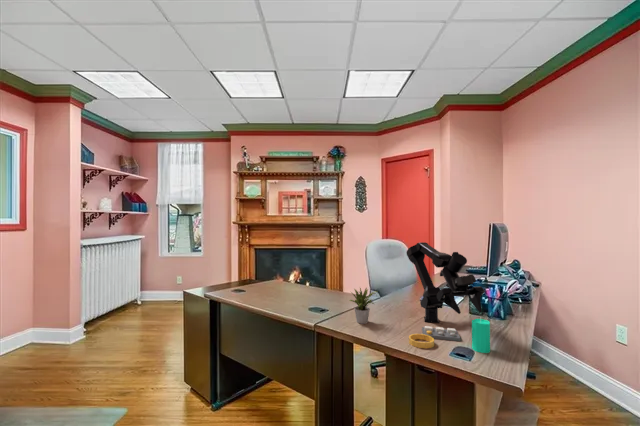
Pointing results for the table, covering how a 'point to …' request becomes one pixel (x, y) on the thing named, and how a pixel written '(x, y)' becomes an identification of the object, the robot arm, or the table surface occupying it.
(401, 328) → the table surface
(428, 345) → the ring
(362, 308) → the house plant
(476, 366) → the table surface
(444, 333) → the breaker panel
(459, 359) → the table surface
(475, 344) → the candle
